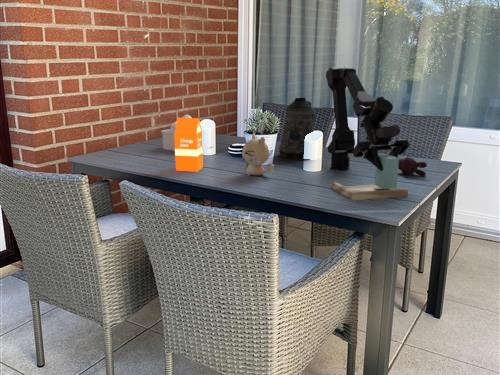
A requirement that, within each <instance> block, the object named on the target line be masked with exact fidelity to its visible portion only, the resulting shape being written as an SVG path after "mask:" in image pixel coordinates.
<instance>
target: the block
mask: <svg viewBox="0 0 500 375" xmlns="http://www.w3.org/2000/svg"><path fill="white" fill-rule="evenodd" d="M378 156H379V158H380V161H381V164H382V167H383V170H382V171H380V170H379V169H378V168H377V167H376V166H375V180H374V184H375V185H376V186H378V187H380V188H382V189H390V188H393V189H397V183H398V173H399V169H398V164H399V159H400V158H399V157H398V158H397V157H394V156H392V155H389V154H387V155H385V154H384V155H378Z"/></svg>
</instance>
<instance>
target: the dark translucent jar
mask: <svg viewBox="0 0 500 375" xmlns="http://www.w3.org/2000/svg"><path fill="white" fill-rule="evenodd" d="M294 98H295V99H294V101H292V102H291V103H290V104H288V105H287V106H286V108H285V109H284V110H285V113H286V114H285V115H286V117H285V123H284V124H285V125H284V128H283V133H282V139H281V141H280V144H279V147H278V151H279V157H281V158H283V159H287V160H295V161H297V160H298V161H301V160H303V154H304V139H305V136H306V135H307V134H309V133H311V132H313V131H314V130H315V129H314V125H315V120H316V113H315V109H314V108H313V107H312V103H311V101H308V100H307V99H306V98H305V97H294Z"/></svg>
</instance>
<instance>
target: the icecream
mask: <svg viewBox="0 0 500 375" xmlns="http://www.w3.org/2000/svg"><path fill="white" fill-rule="evenodd" d="M427 166H428V164H427V163H426V162H425V161H416V160H415V159H414V158H412V157H409V156H406V157H405V158H399V164H398V170H399V171H401V174H402V175H413V174H416V175H417V176H420V177H425V176H426V174H427V173H426V171H425V170H422V169H424V168H426V167H427ZM418 168H419V169H418Z"/></svg>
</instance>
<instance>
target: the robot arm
mask: <svg viewBox="0 0 500 375" xmlns="http://www.w3.org/2000/svg"><path fill="white" fill-rule="evenodd" d="M325 79H326V82H327V86H328V88H329V89H330V90H331V91H332V98H333V99H332V102H333V113H334V124H335V125H334V126H335V130H334V131H333V133H332V134H331V141H330V142H329V144H328V146H327V152H328V153H329V154H331V159H330V160H331V161H330V167H329V170H338V171H348V169H349V168H350V167H351V166H350V165H351V164H350V163H351V156H350V154H353V157H354V158H363V159H364V160H365V159H366V160H367V161H368V162H370V163H371V164H372V165H374V166H375V168H376V167H377V168H378V169H379V170H380V171H382V170H383V167H382V164H381V161H380V158H379V156H380V155H379V151H380V152H382V151H384V152H385V151H387V152H388V155H392V156H394V157H397V158H399V155H403V154H404V153H405V152H406V150H408V149H409V148H410V146H411V144H410V142H409V140H408V139H406V138H405V139H404V138H403V139H401V138H399V139H396V140H395V141H394V142H393V143H390V142H392V140H393V139H392V138H394V137H397V135H399V134H401V128H400V126H399V125H398V124H393V125H389V126H382V122H385V121H386V119H387V118H388V117H389V115H390V114H391V113H392V111H393V108H394V106H393V103H392V102H390V101H389V100H388V99H386V98H384V96H377V98H376V99H375V98H374V97H373V96H372V95H371V94H368V92H366V91H367V90H365V87H364V85H363V84H362V83H361V80H360V79H359V77H358V74H357V70H356V68H354V67H346V66H345V67H341V66H340V67H329V68H328V70H327V71H326V73H325ZM346 88H347V90H348V91H349V94H350V96H351V98H352V100H353V104H352V107H353V112H354V114H355V116H356V117H363V119H362V120H361V122H360V124H359V125H360V126H359V127H360V128H363V129H364V131H365V134H366V137H365V140H366V141H358V142H357V144H356V139H355V131H354V130H351V128H350V127H349V120H348V118H349V117H348V105H347V104H348V103H347V96H346V94H347V93H346Z"/></svg>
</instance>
